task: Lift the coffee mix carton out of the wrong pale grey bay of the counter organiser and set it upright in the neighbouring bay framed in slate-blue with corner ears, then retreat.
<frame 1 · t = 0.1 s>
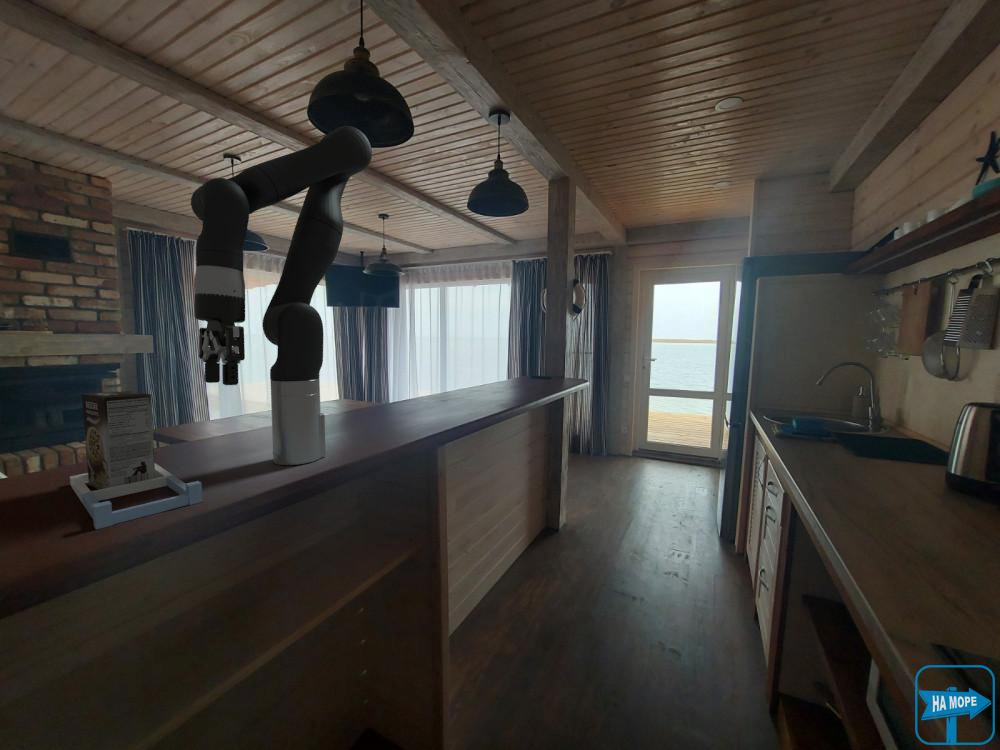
hand: (221, 383, 71), 17 cm above the worktop, tool pointing down, fingers open, 8 cm apart
coffee box: (122, 485, 68), resting in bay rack
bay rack: (131, 492, 64), on the worktop
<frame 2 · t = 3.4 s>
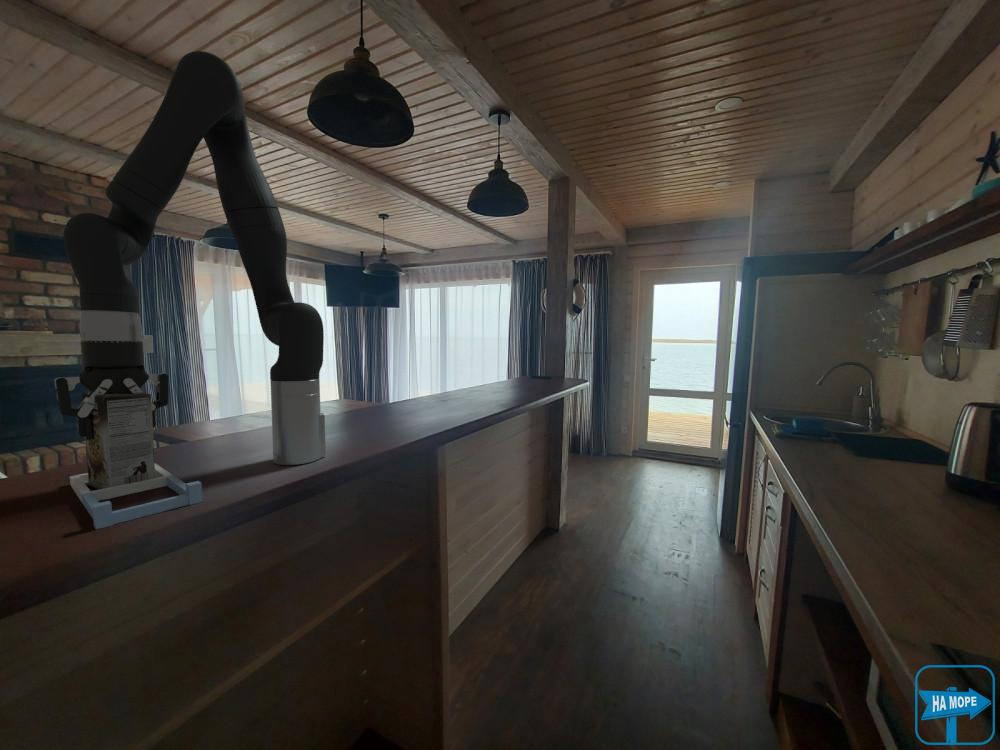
hand: (119, 434, 67), 9 cm above the worktop, tool pointing down, fingers closed on coffee box, 7 cm apart
coffee box: (122, 485, 68), resting in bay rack, touching gripper
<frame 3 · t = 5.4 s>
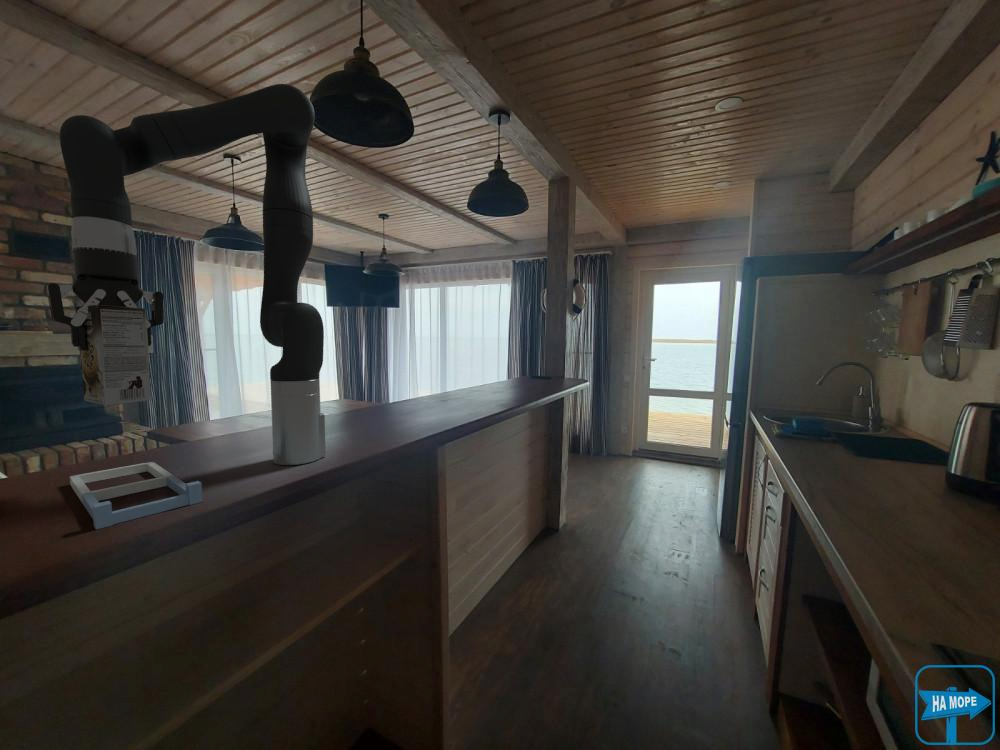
hand: (113, 349, 66), 24 cm above the worktop, tool pointing down, fingers closed on coffee box, 7 cm apart
coffee box: (118, 402, 67), point 15 cm above the worktop, touching gripper
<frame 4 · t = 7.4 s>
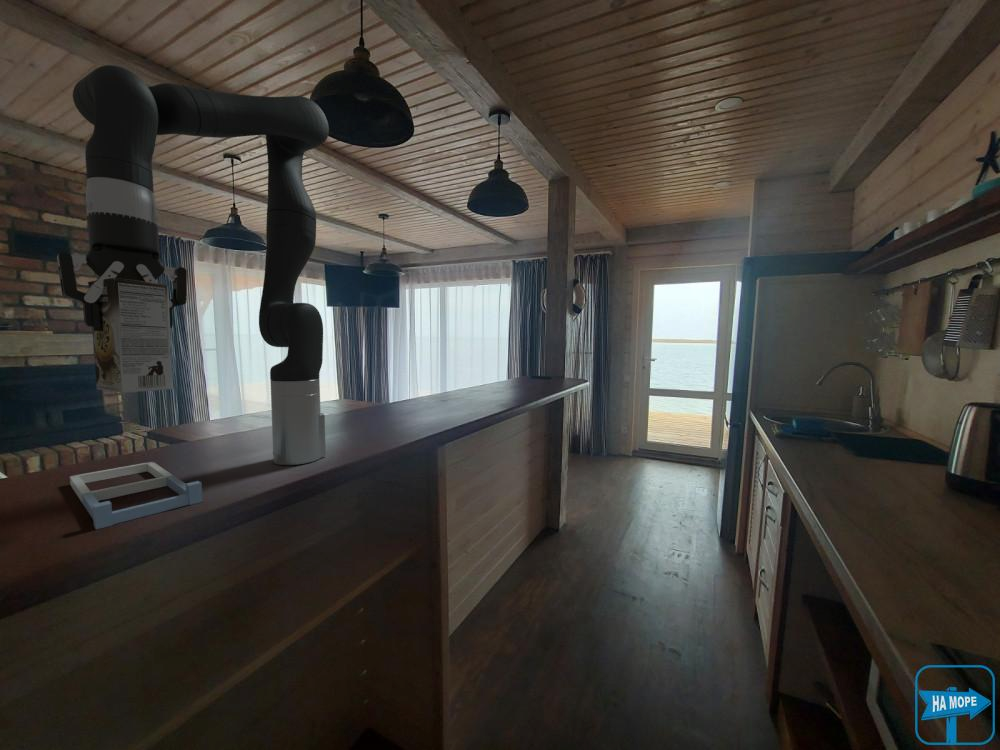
hand: (131, 331, 58), 26 cm above the worktop, tool pointing down, fingers closed on coffee box, 7 cm apart
coffee box: (135, 390, 59), point 17 cm above the worktop, touching gripper
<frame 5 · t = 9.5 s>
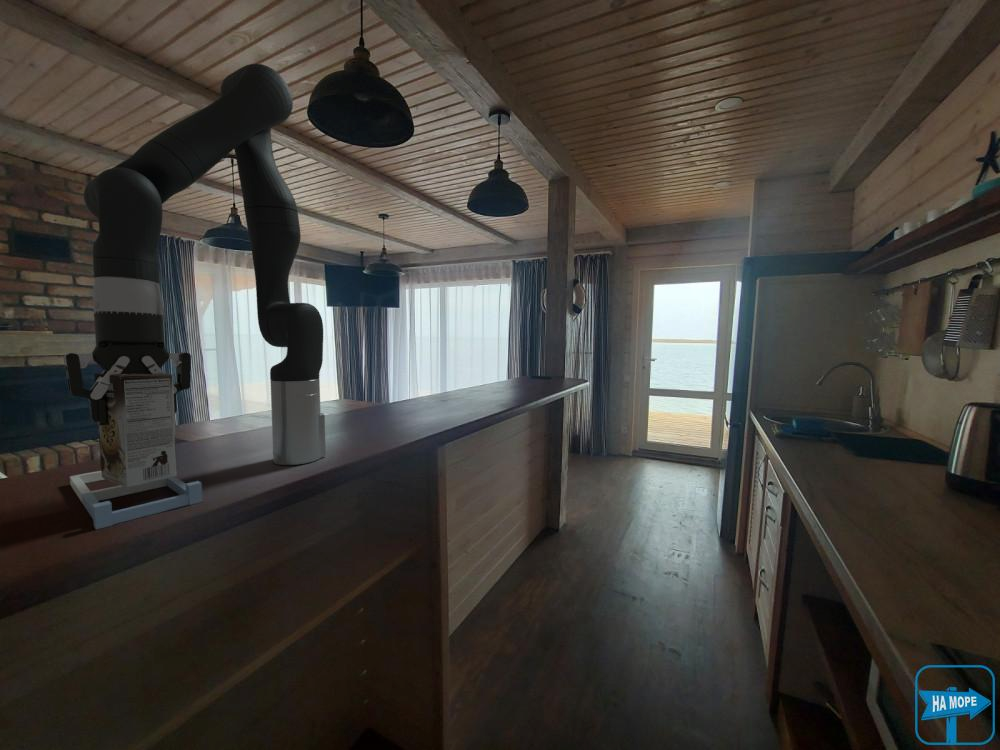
hand: (136, 420, 59), 13 cm above the worktop, tool pointing down, fingers closed on coffee box, 7 cm apart
coffee box: (139, 478, 60), point 4 cm above the worktop, touching gripper
when the fingers open (10 cm above the worktop, at t = 11.2 s): coffee box drops 1 cm, resting in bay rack.
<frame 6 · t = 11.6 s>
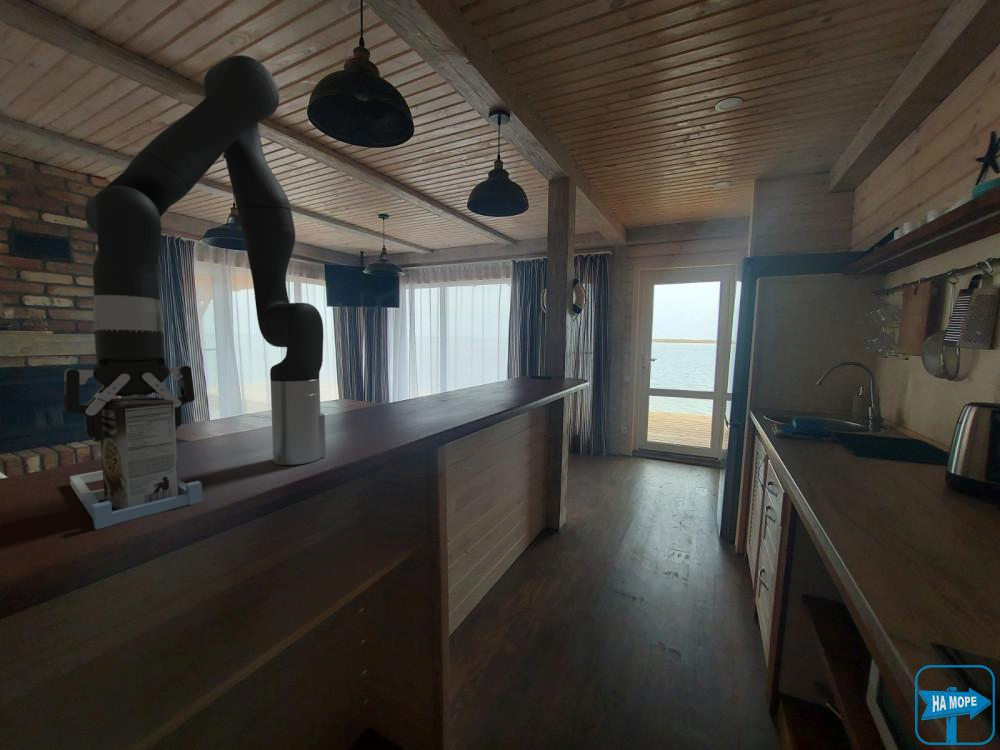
hand: (136, 434, 59), 11 cm above the worktop, tool pointing down, fingers open, 8 cm apart
coffee box: (142, 503, 60), resting in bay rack
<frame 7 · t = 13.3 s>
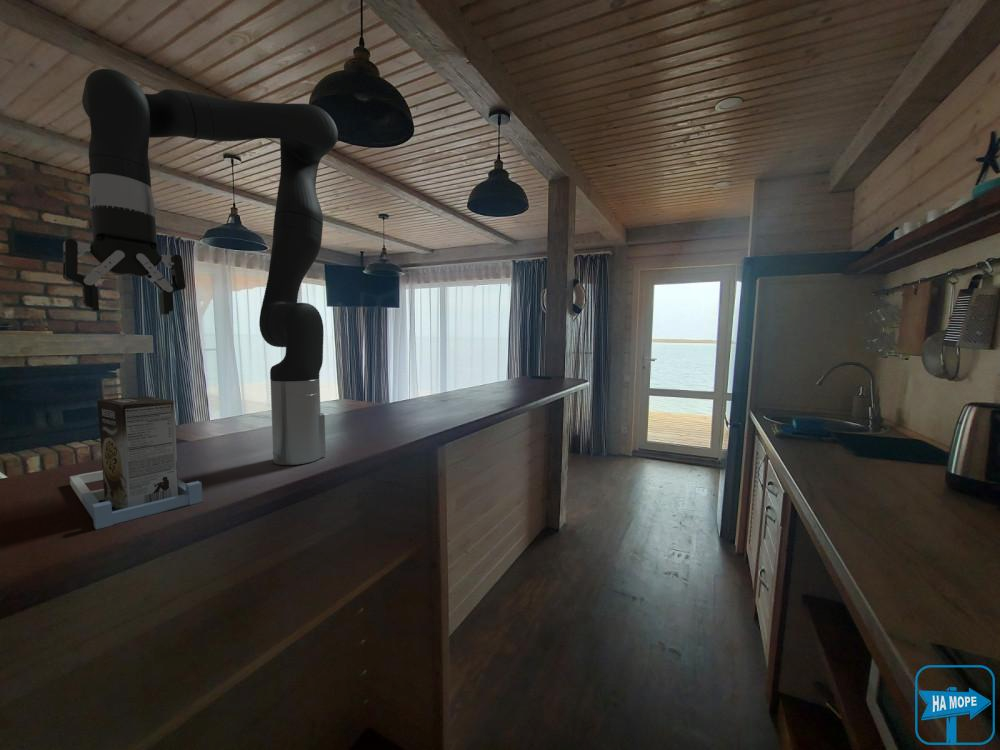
hand: (131, 313, 64), 30 cm above the worktop, tool pointing down, fingers open, 8 cm apart
nothing on the worktop moved.
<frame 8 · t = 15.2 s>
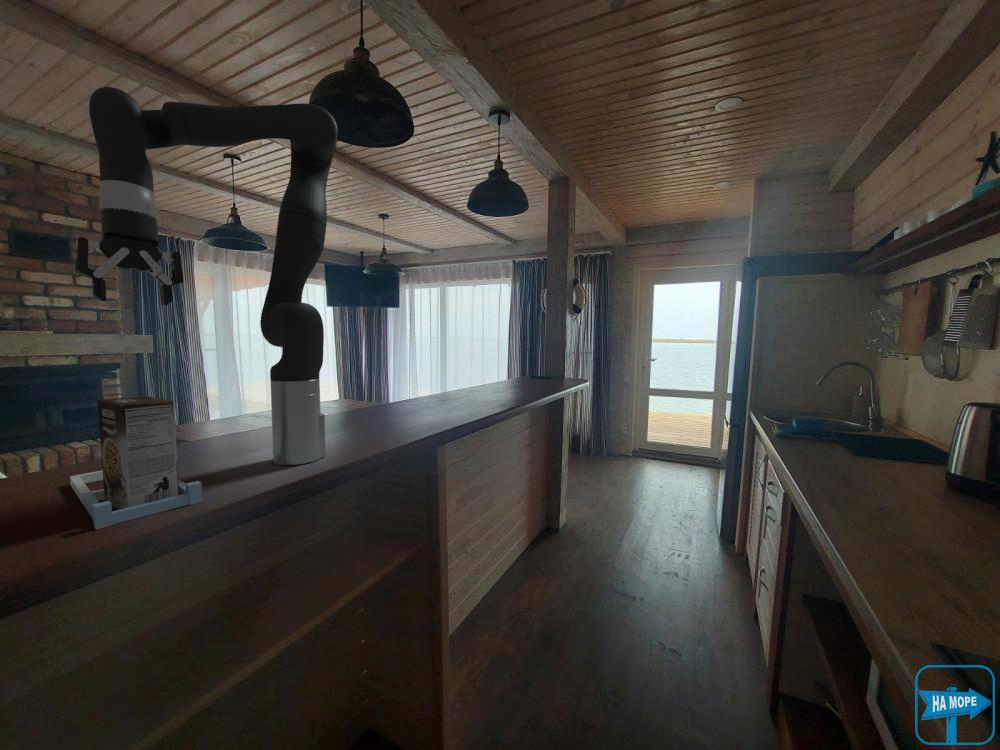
hand: (135, 303, 72), 32 cm above the worktop, tool pointing down, fingers open, 8 cm apart
nothing on the worktop moved.
at the end: coffee box 0.1 cm from the target spot on the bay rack, point 0.0 cm above the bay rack's base; coffee box tilted 0°; the gripper is holding nothing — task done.
